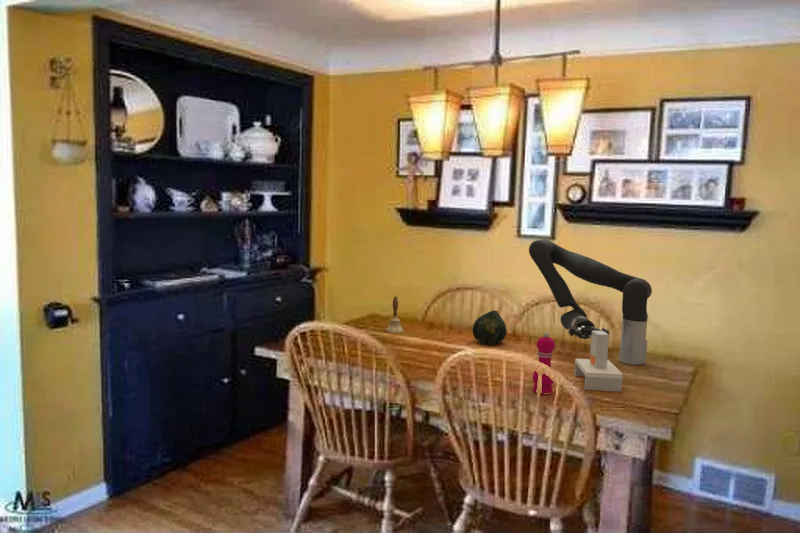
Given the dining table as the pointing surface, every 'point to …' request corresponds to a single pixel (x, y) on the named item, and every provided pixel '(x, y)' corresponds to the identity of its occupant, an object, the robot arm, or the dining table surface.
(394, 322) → the hand bell
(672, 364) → the dining table surface
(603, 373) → the shelf bench
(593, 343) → the skincare box
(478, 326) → the squash
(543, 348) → the pepper mill
